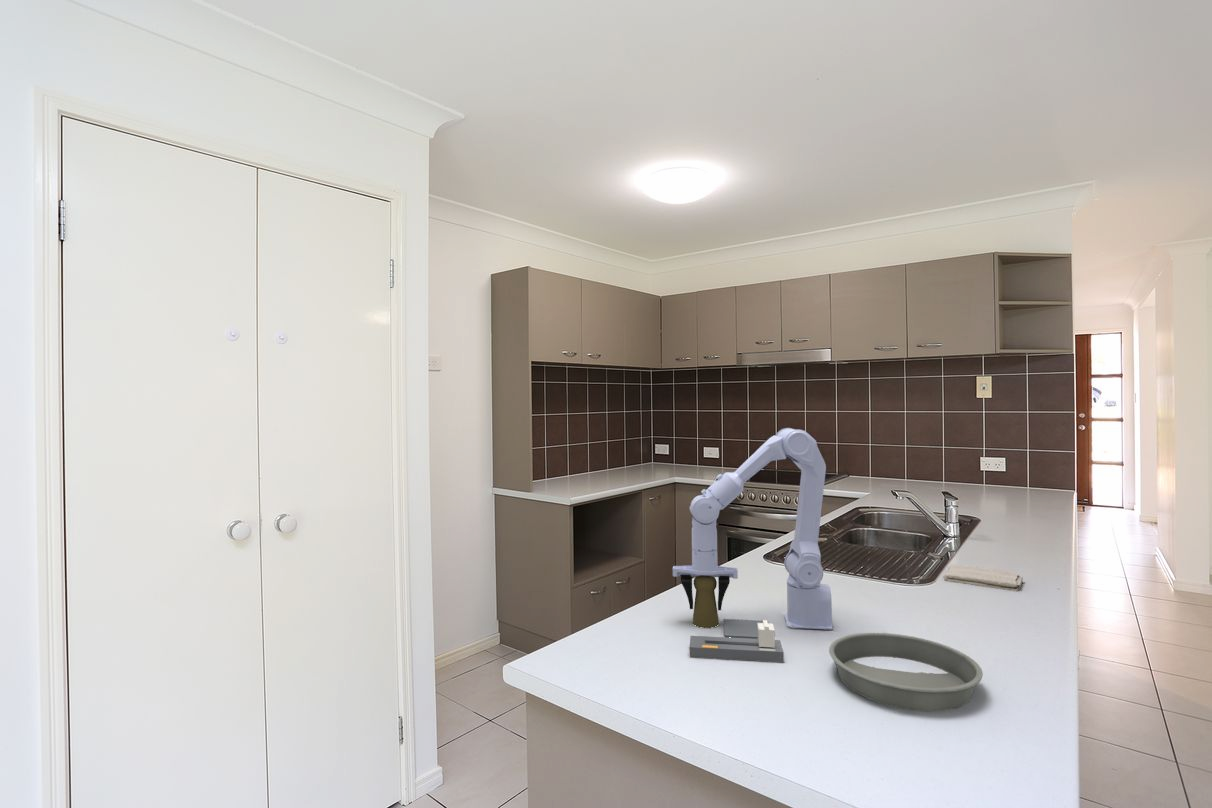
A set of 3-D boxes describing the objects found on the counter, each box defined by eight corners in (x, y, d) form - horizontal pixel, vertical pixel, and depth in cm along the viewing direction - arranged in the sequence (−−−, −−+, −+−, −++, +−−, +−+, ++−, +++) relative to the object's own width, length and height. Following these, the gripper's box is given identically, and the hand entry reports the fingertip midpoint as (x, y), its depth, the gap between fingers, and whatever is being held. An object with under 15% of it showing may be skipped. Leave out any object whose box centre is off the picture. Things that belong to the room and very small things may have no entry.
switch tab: (772, 640, 122) (772, 620, 122) (774, 647, 119) (774, 627, 119) (757, 639, 123) (757, 619, 123) (759, 646, 119) (758, 626, 119)
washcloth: (1021, 594, 157) (1020, 582, 157) (942, 582, 168) (942, 571, 168) (1023, 583, 166) (1023, 571, 166) (949, 572, 177) (948, 562, 177)
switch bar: (780, 649, 123) (780, 639, 123) (783, 662, 117) (783, 651, 117) (690, 645, 126) (690, 635, 126) (689, 657, 120) (689, 646, 120)
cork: (718, 629, 135) (718, 579, 135) (691, 627, 136) (690, 578, 136) (719, 619, 141) (718, 572, 141) (693, 617, 142) (692, 571, 142)
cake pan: (1019, 703, 101) (1018, 676, 101) (897, 728, 94) (896, 699, 94) (906, 647, 124) (906, 625, 124) (802, 663, 117) (801, 640, 117)
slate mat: (768, 622, 138) (768, 620, 138) (772, 640, 128) (772, 637, 128) (723, 620, 140) (723, 618, 140) (724, 637, 130) (724, 635, 130)
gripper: (736, 545, 141) (737, 603, 141) (673, 543, 144) (674, 601, 144) (737, 552, 134) (738, 614, 134) (671, 551, 137) (672, 611, 137)
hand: (705, 608), depth 139 cm, fingers open, 6 cm apart
